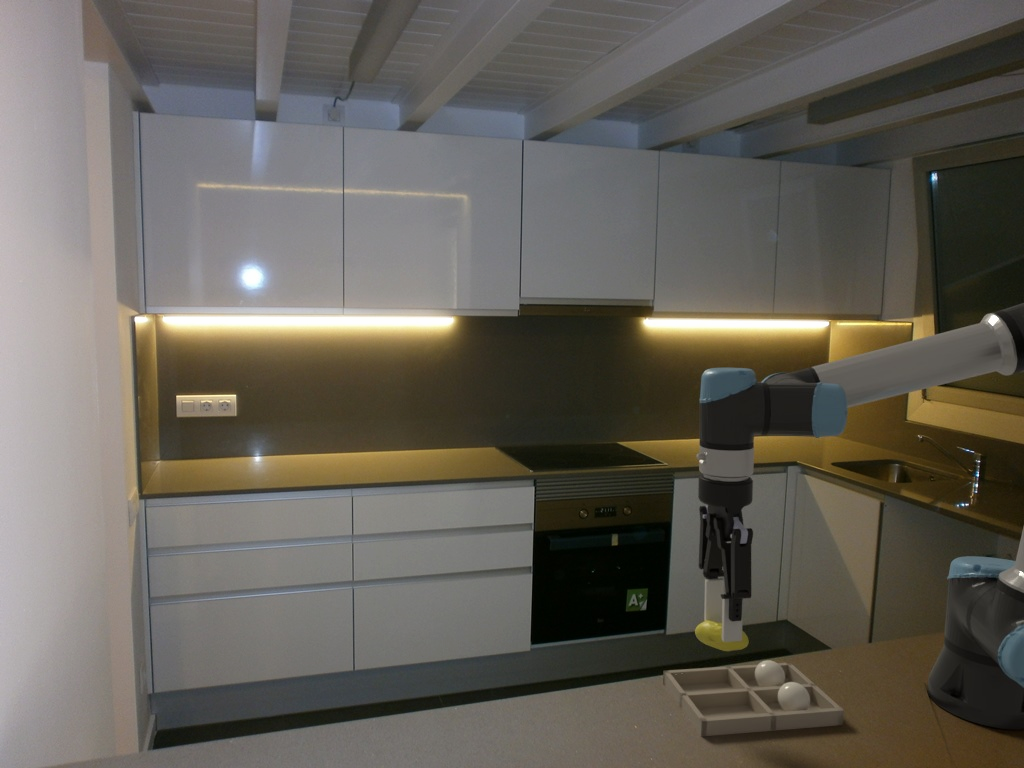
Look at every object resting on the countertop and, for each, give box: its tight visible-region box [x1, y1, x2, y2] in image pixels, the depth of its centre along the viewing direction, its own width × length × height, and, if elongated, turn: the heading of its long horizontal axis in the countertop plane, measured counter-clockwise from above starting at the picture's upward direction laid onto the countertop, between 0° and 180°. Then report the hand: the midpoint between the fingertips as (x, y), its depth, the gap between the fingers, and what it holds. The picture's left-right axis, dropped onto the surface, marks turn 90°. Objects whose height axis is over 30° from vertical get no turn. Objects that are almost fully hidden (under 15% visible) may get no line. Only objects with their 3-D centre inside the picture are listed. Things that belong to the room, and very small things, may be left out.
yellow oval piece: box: [694, 620, 750, 652], centre depth 110 cm, size 4×8×4 cm, turn 49°
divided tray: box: [662, 662, 845, 737], centre depth 115 cm, size 22×15×3 cm
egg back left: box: [778, 682, 810, 712], centre depth 113 cm, size 5×5×5 cm
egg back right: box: [755, 659, 785, 687], centre depth 120 cm, size 5×5×5 cm
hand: (722, 630), depth 110 cm, fingers closed on yellow oval piece, 6 cm apart
